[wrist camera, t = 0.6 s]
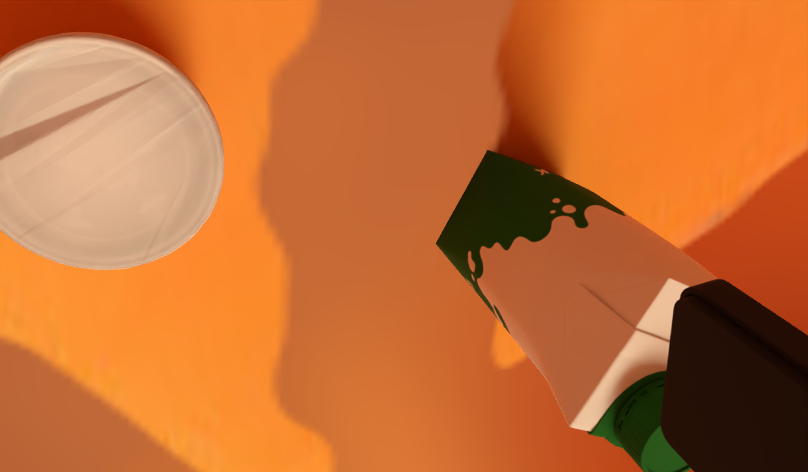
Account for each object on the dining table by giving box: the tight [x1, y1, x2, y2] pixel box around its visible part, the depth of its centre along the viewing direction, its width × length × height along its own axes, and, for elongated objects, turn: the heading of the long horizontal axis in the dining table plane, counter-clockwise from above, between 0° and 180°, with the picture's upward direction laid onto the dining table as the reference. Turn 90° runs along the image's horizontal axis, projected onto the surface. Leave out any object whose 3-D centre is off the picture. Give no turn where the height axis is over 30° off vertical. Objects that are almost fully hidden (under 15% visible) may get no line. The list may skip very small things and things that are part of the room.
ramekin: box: [0, 32, 224, 270], centre depth 32 cm, size 11×11×5 cm
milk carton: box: [436, 150, 718, 472], centre depth 36 cm, size 9×9×20 cm
